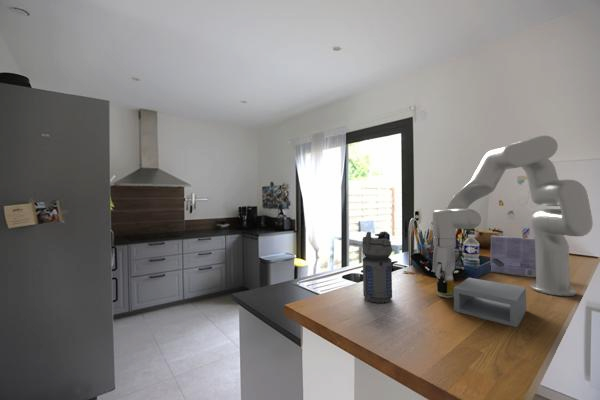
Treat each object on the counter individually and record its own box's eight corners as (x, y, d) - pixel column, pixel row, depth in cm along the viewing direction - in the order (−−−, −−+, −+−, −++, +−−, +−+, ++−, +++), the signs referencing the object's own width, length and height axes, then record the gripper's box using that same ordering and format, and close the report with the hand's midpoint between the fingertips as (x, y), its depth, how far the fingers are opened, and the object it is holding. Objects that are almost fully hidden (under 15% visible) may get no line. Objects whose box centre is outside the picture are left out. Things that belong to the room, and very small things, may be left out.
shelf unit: (469, 298, 97) (468, 277, 97) (526, 310, 85) (525, 287, 85) (454, 310, 86) (453, 287, 86) (517, 327, 74) (516, 300, 75)
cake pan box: (542, 276, 121) (541, 237, 122) (543, 279, 118) (542, 239, 118) (491, 270, 134) (490, 235, 134) (490, 272, 130) (489, 236, 130)
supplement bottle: (456, 298, 97) (455, 271, 97) (440, 297, 98) (439, 271, 98) (450, 293, 102) (450, 268, 102) (435, 292, 103) (435, 267, 103)
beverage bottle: (401, 297, 99) (399, 230, 99) (380, 307, 90) (379, 233, 90) (377, 291, 107) (376, 228, 107) (356, 299, 98) (355, 231, 98)
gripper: (442, 239, 109) (443, 283, 109) (424, 244, 97) (425, 293, 97) (462, 240, 103) (463, 287, 103) (446, 246, 92) (448, 299, 92)
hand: (445, 290), depth 100 cm, fingers closed on supplement bottle, 5 cm apart
